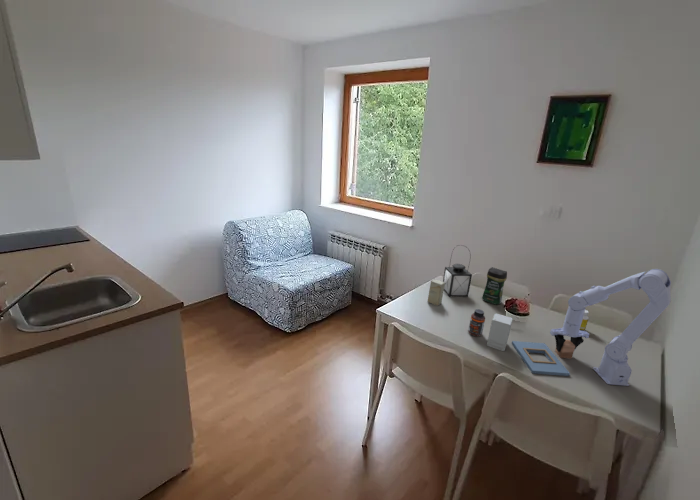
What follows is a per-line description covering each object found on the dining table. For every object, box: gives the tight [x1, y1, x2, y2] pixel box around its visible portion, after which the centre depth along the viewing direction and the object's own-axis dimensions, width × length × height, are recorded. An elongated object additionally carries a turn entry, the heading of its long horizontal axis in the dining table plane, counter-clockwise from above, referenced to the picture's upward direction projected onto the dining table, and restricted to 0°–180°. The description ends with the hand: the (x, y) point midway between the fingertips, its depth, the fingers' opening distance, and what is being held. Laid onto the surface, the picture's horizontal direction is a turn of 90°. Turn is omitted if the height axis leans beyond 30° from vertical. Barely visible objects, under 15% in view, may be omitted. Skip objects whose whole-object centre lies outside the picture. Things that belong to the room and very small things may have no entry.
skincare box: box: [427, 278, 445, 307], centre depth 184 cm, size 6×4×12 cm
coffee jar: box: [481, 266, 508, 305], centre depth 189 cm, size 10×8×19 cm
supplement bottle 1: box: [467, 308, 486, 337], centre depth 158 cm, size 6×6×11 cm
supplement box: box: [486, 312, 513, 352], centre depth 150 cm, size 7×7×13 cm
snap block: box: [554, 339, 576, 360], centre depth 146 cm, size 4×4×6 cm
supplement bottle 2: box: [580, 309, 590, 332], centre depth 167 cm, size 5×5×10 cm
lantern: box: [442, 244, 473, 298], centre depth 196 cm, size 11×11×28 cm
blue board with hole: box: [511, 340, 571, 377], centre depth 144 cm, size 20×14×2 cm
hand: (564, 350), depth 147 cm, fingers closed on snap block, 4 cm apart
